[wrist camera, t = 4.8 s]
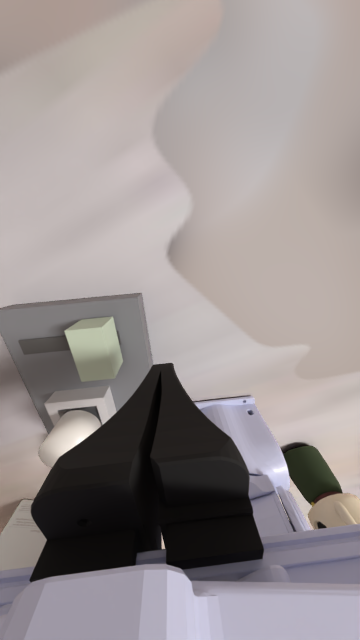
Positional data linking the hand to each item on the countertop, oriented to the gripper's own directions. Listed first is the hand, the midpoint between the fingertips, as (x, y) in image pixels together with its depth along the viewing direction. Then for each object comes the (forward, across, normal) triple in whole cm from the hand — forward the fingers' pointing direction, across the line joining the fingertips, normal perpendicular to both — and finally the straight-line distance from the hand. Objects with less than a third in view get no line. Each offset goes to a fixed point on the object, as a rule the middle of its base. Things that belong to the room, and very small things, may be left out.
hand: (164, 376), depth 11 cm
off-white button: (+5, +10, +9) cm, 14 cm away
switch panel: (+9, +9, +9) cm, 16 cm away
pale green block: (+7, +6, 0) cm, 9 cm away
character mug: (+10, -20, +26) cm, 34 cm away
